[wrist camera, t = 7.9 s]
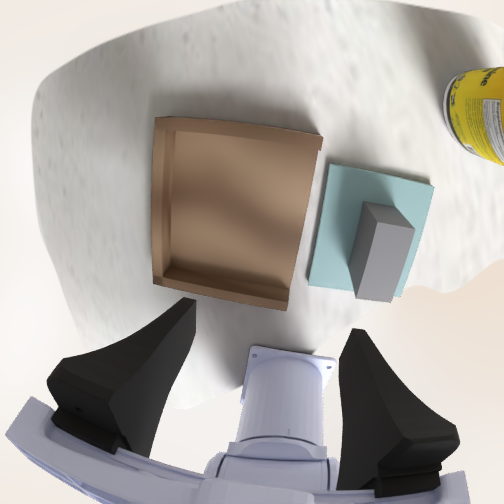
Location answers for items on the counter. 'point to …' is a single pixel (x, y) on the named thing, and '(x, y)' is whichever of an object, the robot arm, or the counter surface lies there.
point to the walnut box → (229, 207)
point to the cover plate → (347, 215)
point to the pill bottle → (477, 112)
